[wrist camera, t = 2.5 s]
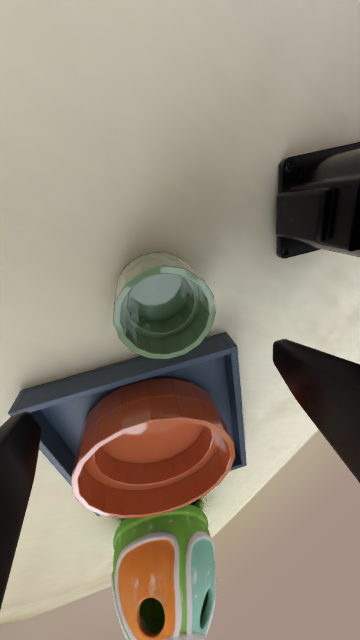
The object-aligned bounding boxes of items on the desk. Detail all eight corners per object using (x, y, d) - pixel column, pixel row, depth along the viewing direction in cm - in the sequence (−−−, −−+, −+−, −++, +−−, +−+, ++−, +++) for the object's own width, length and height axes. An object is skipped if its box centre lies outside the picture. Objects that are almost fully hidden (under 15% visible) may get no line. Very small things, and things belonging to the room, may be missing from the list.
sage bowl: (188, 242, 16) (208, 254, 12) (200, 315, 19) (219, 344, 15) (105, 262, 15) (97, 282, 11) (130, 334, 18) (131, 369, 14)
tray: (226, 332, 20) (237, 346, 18) (238, 447, 29) (246, 465, 27) (20, 390, 18) (7, 413, 16) (99, 493, 27) (97, 516, 25)
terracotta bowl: (207, 356, 21) (228, 396, 17) (221, 443, 28) (239, 487, 23) (57, 400, 20) (37, 455, 15) (111, 479, 26) (107, 533, 22)
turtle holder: (157, 547, 38) (169, 677, 27) (94, 511, 29) (75, 684, 18) (223, 516, 37) (259, 636, 27) (179, 469, 28) (208, 621, 18)
